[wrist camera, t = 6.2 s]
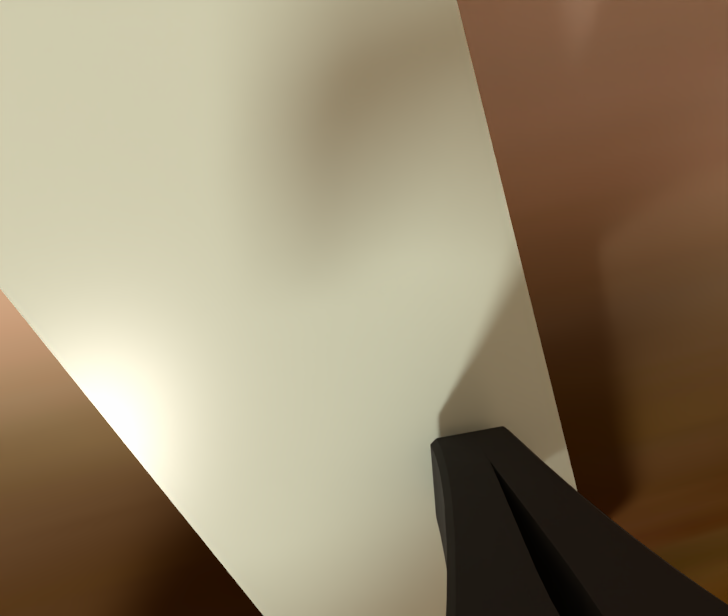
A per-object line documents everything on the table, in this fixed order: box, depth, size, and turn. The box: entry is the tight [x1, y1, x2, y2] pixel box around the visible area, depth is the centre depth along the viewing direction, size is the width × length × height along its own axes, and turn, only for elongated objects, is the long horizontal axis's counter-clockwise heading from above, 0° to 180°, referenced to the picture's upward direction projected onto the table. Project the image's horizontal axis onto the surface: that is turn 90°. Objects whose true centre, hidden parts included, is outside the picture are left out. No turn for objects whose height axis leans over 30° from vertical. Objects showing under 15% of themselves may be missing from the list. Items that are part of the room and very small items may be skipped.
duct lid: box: [0, 0, 577, 616], centre depth 10 cm, size 20×7×1 cm, turn 20°
